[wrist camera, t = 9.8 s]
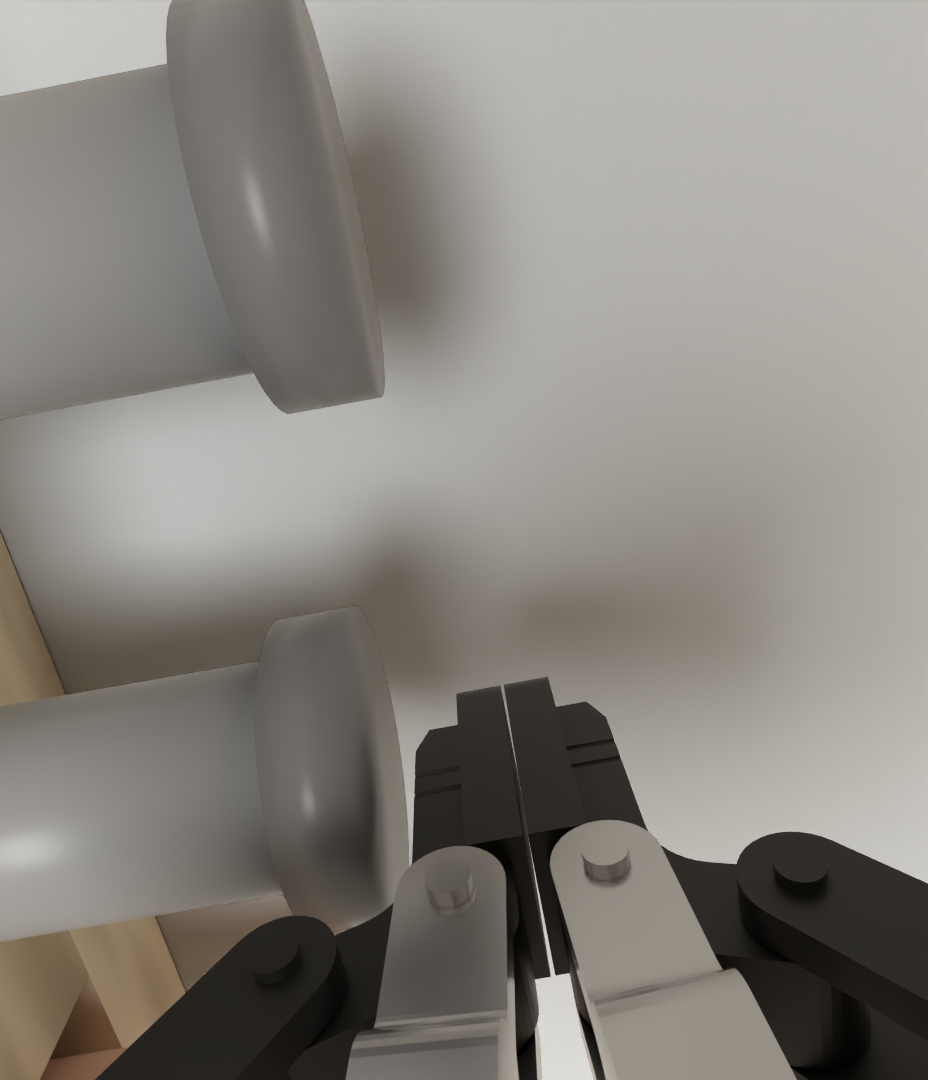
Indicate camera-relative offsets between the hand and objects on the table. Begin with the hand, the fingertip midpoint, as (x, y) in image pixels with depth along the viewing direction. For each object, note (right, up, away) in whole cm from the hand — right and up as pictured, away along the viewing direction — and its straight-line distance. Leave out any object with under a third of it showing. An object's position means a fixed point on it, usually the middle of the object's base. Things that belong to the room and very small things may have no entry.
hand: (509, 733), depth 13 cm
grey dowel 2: (-7, 0, +2) cm, 8 cm away
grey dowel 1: (-8, +7, -1) cm, 11 cm away
